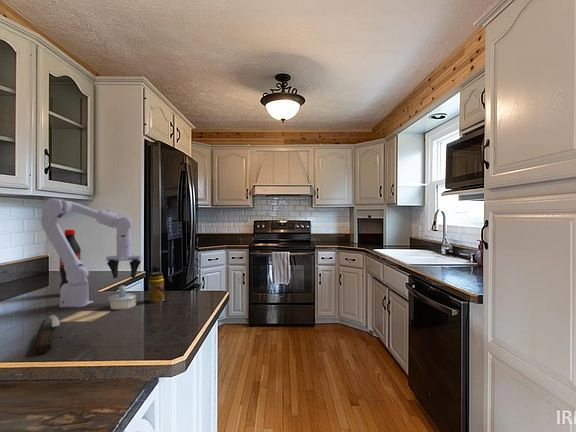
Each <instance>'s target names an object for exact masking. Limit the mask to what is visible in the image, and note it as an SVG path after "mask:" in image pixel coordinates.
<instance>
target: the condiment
mask: <svg viewBox="0 0 576 432" xmlns="http://www.w3.org/2000/svg"><path fill="white" fill-rule="evenodd" d="M163 275H164V274H163V272H162V271H154V272H150V273H149V277H148V278H149V279H148V300H149V301H148V302H150V303H159V302H162V301H164V300H165V279H164V276H163Z"/></svg>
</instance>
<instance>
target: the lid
mask: <svg viewBox="0 0 576 432" xmlns="http://www.w3.org/2000/svg"><path fill="white" fill-rule="evenodd" d="M126 287H127V285H119V286H118V294H114V295H111V296H110V295H109V296H108V297H107V300H108V302H110V301H111V302H122V301H128V300H132V299H135V298H136V299H137V294H136V293H128V292H127V291H126V290H127V289H126Z"/></svg>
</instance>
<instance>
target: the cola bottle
mask: <svg viewBox="0 0 576 432" xmlns="http://www.w3.org/2000/svg"><path fill="white" fill-rule="evenodd" d="M75 234H76V231H75V229H66V230H64V235H65V237H66V239H67V241H68V242H69V244H70V246H71V248H72V250H73V251H74V253H75V255H76V257H77V258H78V259H79V260H80V261H81V252H82V251H81V247H80V245H79V243H78V241H77V240H76V238H75ZM81 262H82V261H81ZM58 268H59V273H60V279H61V282H60V284H59V290H60V289H61V287H62V285H64V284H66V283H68V281H67V279H66V272H65V270H64V264H63V262H62V260H61V258H60V257H59V267H58Z"/></svg>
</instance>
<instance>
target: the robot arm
mask: <svg viewBox="0 0 576 432" xmlns="http://www.w3.org/2000/svg"><path fill="white" fill-rule="evenodd" d="M67 213H77V214H80V215H84V216H86V217H87V216H88V217H90V218H94V219H96V222H97V223H98V224H101V225H103V226H107V227H109V228H112V229H114V228H115V229H116V235H115V238H116V241H115V242H116V255H106V256H105V261H106V262H107V263H106V265H107V266H108V267H109V269H110V270H111V274H112V278H113V279H117V278H118V277H119V263H120V262H121V261H123V262H124V261H129V265H130V269H131V270H130V271H131V273H130V277H131V279H135V278H136V274H137V272H138V268H139V266H140V264H141V263H142V260H143V255H134V254H132V251H133V250H132V246H133V245H132V229H131V228H132V226H133V225H132V220H131V219H130V218H128V217H126V216H123V215H122V214H116V213H113V212H111V210H109V209H106V210H105V209H102V210H96V209H94V208H91V207H88V206H86V205H83V204H81V203H78V202H74V201H70V200H69V201H68V200H65V199H63V198H59V199H58V198H55V197H51V198H48V199H47V200H46V201H45V202H44V204H43V206H42V207H41V221H40V222H41V223H40V225H41V227H42V229H43V230H44V233H45V234H46V235H47V237H48V240H49V241H50V243H51V245H52V246H53V248H54V249H55V251H56V254H57V255H58V257H59V259H60V258H61V260H62V262H63V264H64V270H65V272H66V279H67V281H68V283H66V284H64V285H62V287H61V289H60V288H59V306H58V307H59V308H81V307H85V306H87V305H89V304H91V303H94V301H93V300H89V297H90V295H89V294H90V293H89V288H90V287H89V285H90V284H89V280H88V277H89V275H90V269H89V267H87V266H86V265H84V264H83V262H82V261H80V260H79V259H78V258H77V257H76V255H75V253H74V251H73V250H72V248H71V246H70V244H69V242H68V241H67V239H66V237H65V236H66V235H65V233H64V232H63V230H62V228H61V226H60V225H59V223H60V221H61V219H62V217H63V216H65V214H67Z"/></svg>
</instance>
